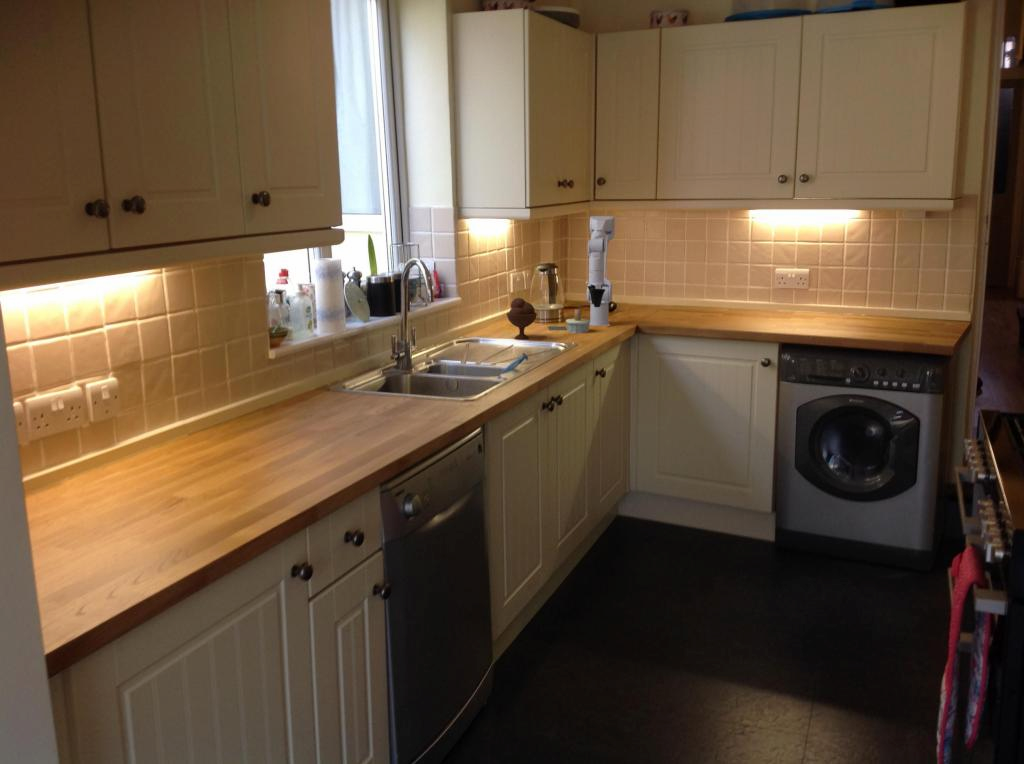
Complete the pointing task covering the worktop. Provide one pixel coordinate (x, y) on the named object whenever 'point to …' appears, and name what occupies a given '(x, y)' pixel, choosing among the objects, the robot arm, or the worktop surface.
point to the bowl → (578, 328)
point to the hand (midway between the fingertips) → (596, 305)
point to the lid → (577, 318)
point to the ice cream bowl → (521, 316)
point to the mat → (557, 328)
